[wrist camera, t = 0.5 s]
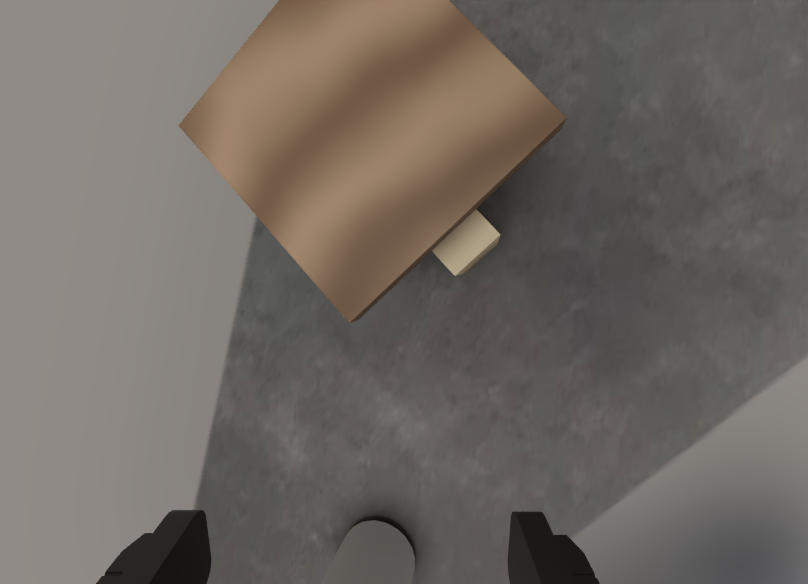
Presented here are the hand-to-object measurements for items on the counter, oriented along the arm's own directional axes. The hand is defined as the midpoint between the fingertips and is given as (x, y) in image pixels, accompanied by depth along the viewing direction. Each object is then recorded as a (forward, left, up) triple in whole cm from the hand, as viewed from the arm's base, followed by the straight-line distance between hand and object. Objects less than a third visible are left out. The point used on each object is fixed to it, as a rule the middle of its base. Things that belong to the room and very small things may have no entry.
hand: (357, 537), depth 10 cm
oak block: (-9, +1, -27) cm, 29 cm away
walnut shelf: (-14, -4, -27) cm, 31 cm away
